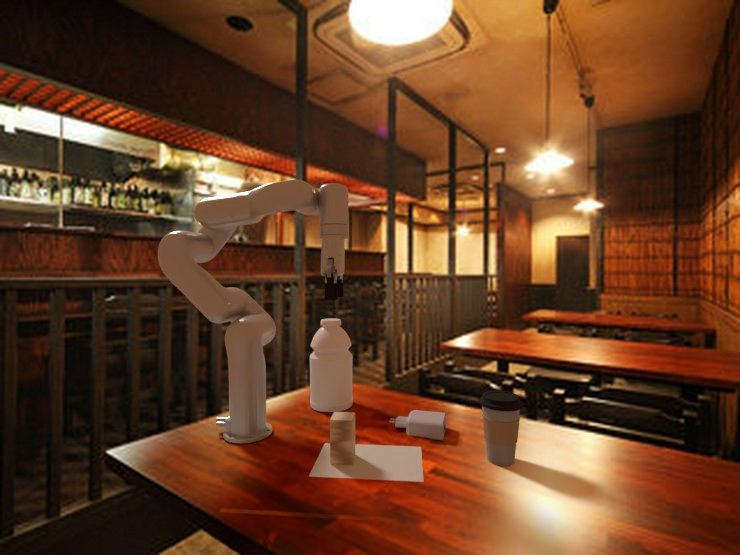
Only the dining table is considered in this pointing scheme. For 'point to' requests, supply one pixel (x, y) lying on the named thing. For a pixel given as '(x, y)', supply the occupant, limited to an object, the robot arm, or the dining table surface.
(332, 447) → the maple block
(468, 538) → the dining table surface
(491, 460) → the coffee cup
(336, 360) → the bottle
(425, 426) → the charger
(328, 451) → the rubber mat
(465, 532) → the dining table surface
